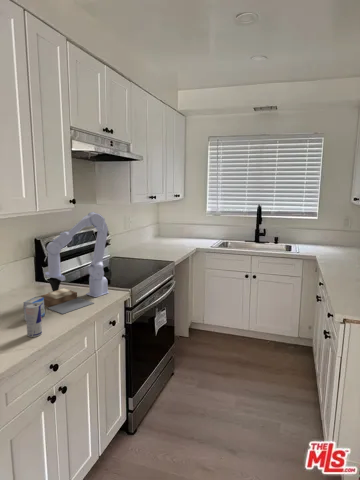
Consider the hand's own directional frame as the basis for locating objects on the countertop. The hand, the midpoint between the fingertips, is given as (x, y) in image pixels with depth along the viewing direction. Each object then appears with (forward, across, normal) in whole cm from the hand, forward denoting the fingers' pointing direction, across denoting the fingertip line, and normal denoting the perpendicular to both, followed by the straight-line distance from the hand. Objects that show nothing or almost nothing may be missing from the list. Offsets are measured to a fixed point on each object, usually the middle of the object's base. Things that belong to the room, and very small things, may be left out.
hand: (55, 292), depth 168 cm
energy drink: (+5, +28, -28) cm, 40 cm away
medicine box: (+5, +13, -19) cm, 23 cm away
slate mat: (+4, +13, 0) cm, 13 cm away
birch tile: (+1, +4, 0) cm, 4 cm away
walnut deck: (+4, +2, 0) cm, 5 cm away
